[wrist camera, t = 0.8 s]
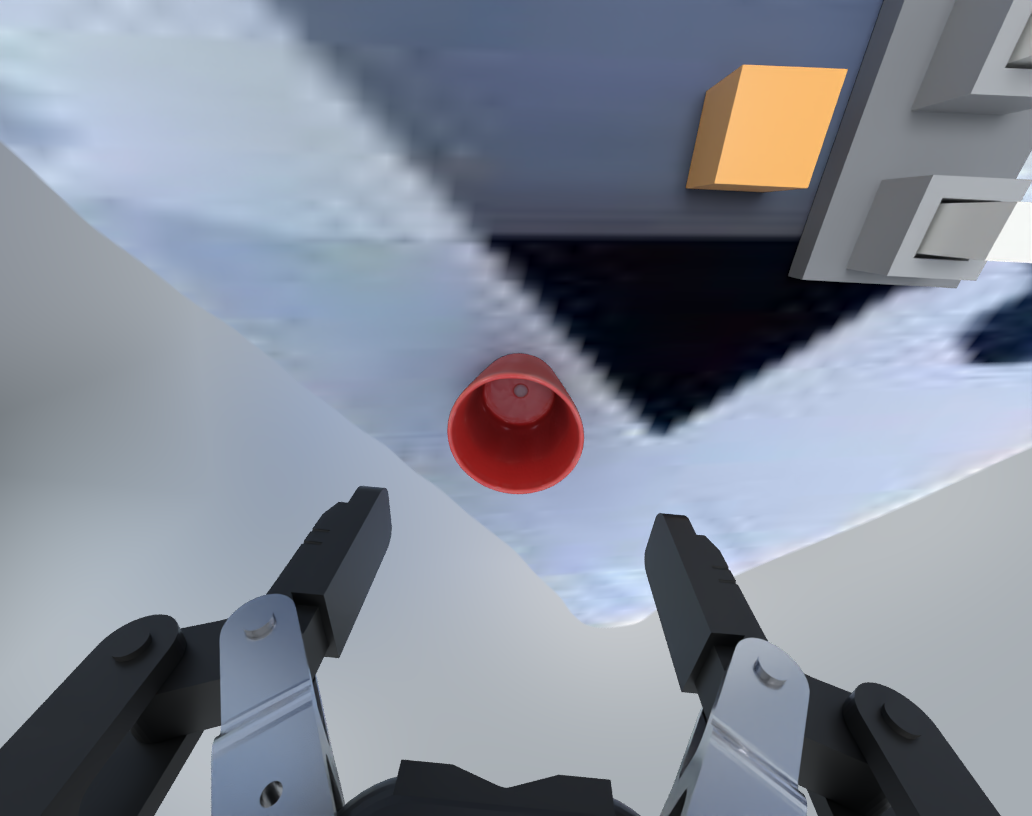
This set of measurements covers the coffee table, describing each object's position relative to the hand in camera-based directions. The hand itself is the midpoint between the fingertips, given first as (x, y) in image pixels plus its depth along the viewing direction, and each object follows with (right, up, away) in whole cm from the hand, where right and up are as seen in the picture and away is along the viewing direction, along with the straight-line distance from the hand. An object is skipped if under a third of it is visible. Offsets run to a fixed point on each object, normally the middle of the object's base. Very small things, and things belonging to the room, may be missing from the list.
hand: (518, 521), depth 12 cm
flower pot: (0, +5, +27) cm, 28 cm away
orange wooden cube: (+16, +23, +17) cm, 33 cm away
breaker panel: (+29, +22, +17) cm, 40 cm away
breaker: (+29, +16, +15) cm, 36 cm away
